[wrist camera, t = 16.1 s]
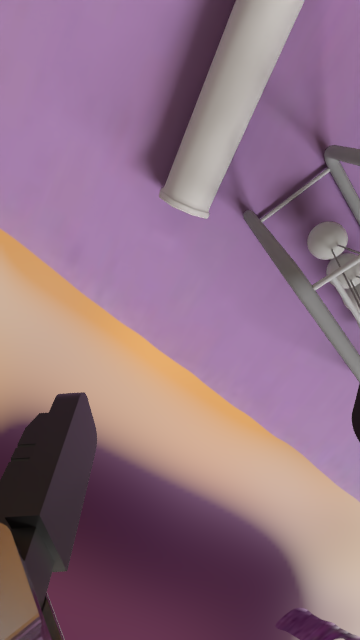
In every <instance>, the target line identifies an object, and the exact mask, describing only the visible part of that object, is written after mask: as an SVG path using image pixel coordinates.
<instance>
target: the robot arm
mask: <svg viewBox="0 0 360 640" xmlns="http://www.w3.org/2000/svg"><path fill="white" fill-rule="evenodd" d="M352 425H353V429H354V432H355V434H356V436H357V438H358V440H359V442H360V385H359V388H358V392H357V396H356V400H355V404H354V408H353V412H352ZM96 444H97V433H96V427H95V423H94V420H93V416H92V413H91V409H90V406H89V402H88V398H87V396H86V394H85V393H68V394H58V395H57V396H56V398H55V400H54V402H53V404H52V407H51V409H50V412H49V413H39V415H38V416H37V417H36V418H35V419H34V420H33V421H32V422H31V423H30V424H29V425H28V426H27V427H26V428H25V430H24V432H23V434H22V437H21V439H20V441H19V443H18V447H17V448H16V449H15V451H14V453H13V455H12V457H11V462H9V463H8V466H7V468H6V470H5V472H4V474H3V476H2V478H1V480H0V640H64V637H63V635H62V632H61V629H60V627H59V624H58V621H57V618H56V616H55V613H54V610H53V608H52V605H51V602H50V600H49V597H48V594H47V588H48V585H49V581H50V577H51V574H52V572H61V571H67V569H68V565H69V561H70V556H71V552H72V548H73V544H74V539H75V535H76V531H77V527H78V523H79V518H80V514H81V510H82V506H83V502H84V497H85V493H86V489H87V485H88V480H89V476H90V472H91V468H92V464H93V459H94V455H95V451H96Z"/></svg>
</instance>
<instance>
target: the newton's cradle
mask: <svg viewBox="0 0 360 640" xmlns="http://www.w3.org/2000/svg"><path fill="white" fill-rule="evenodd" d="M324 158H325V162H326V165H327V167H328V168H327V169H326V170H324V171H323V172H322V173H321V174H319V175H318V176H317V177H315V178H314V179H313V180H311V181H310V182H309V183H307V184H306V185H305V186H303V187H302V188H301V189H299V190H298V191H297V192H296V193H294V194H293V195H292V196H290V197H289V198H288V199H286V200H285V201H284V202H282V203H281V204H280V205H278V206H277V207H276V208H274V209H273V210H272V211H270V212H269V213H268V214H267V215H265V216H264V217H263V218H261V219H259V218H258V217H257V216H256V215H255V213H254V212H253V211H251V210H247V211H246V212H245V213H244V215H243V217H244V219H245V221H246V222H247V224H248V225H249V227H250V228H251V230H252V231H253V233H254V234H255V236H256V237H257V239H258V240H259V241H260V243H261V244H262V246H263V247H264V249H265V250H266V252H267V253H268V255H269V256H270V258H271V259H272V260H273V262H274V263H275V265H276V266H277V268H278V269H279V271H280V272H281V274H282V275H283V276H284V278H285V279H286V281H287V282H288V284H289V285H290V286H291V288H292V289H293V291H294V292H295V293H296V295H297V296H298V298H299V299H300V300H301V302H302V303H303V304H304V306H305V307H306V309H307V310H308V311H309V313H310V314H311V316H312V317H313V318H314V320H315V321H316V323H317V324H318V325H319V327H320V328H321V329H322V331H323V332H324V334H325V335H326V336H327V338H328V339H329V341H330V342H331V343H332V345H333V346H334V348H335V349H336V350H337V352H338V353H339V355H340V356H341V357H342V359H343V360H344V361H345V363H346V364H347V366H348V367H349V368H350V370H351V371H352V373H353V374H354V375H355V377H356V378H357V380H358V381H359V382H360V355H359V354H358V352H357V351H356V349H355V348H354V346H353V345H352V344H351V342H350V341H349V339H348V338H347V336H346V335H345V333H344V332H343V330H342V329H341V327H340V326H339V325H338V323H337V322H336V320H335V319H334V317H333V316H332V314H331V313H330V311H329V310H328V308H327V307H326V306H325V304H324V303H323V301H322V300H321V298H320V297H319V295H318V294H317V292H316V291H315V290H317V289H318V288H320V287H321V286H323V285H324V284H326V283H328V282H330V283H331V284H332V285H334V286H335V288H336V289H337V291H338V292H339V294H340V295H341V297H342V300H343V303H344V305H345V306H346V307H347V308H348V309H349V310H350V311H351V312H352V314H353V316H354V317H355V319H356V320H357V324H358V326H359V328H360V252H358V251H355V250H352V249H350V248H347V247H346V245H347V241H348V237H347V233H346V230H345V229H344V228H343V227H342V226H341V225H340V224H338V223H335V222H323V223H320V224H318V225H317V226H315V227H314V228H313V229H312V230H311V232H310V233H309V236H308V239H307V245H308V249H309V251H310V252H311V254H312V255H314V256H315V257H316V258H319V259H323V260H328V259H332V260H331V261H330V262H329V264H328V266H327V269H326V274H327V276H326V277H324V278H323V279H321V280H319V281H318V282H316V283H315V284H313V285H311V284H310V282H309V281H308V279H307V278H306V277H305V275H304V274H303V272H302V271H301V270H300V268H299V267H298V266H297V264H296V263H295V262H294V260H293V259H292V258H291V257H290V256H289V254H288V253H287V252H286V251H285V250H284V248H283V247H282V246H281V245H280V244H279V242H278V241H277V240H276V239H275V238H274V236H273V235H272V234H271V233H270V232H269V230H268V229H267V228H266V227H265V225H264V224H263V223H262V222H263V221H265V220H266V219H267V218H269V217H270V216H271V215H273V214H274V213H275V212H277V211H278V210H279V209H281V208H282V207H283V206H285V205H286V204H287V203H289V202H290V201H291V200H293V199H294V198H295V197H297V196H298V195H299V194H300V193H302V192H303V191H304V190H306V189H307V188H308V187H310V186H311V185H312V184H314V183H315V182H316V181H318V180H319V179H320V178H322V177H323V176H324V175H326V174H327V173H328V172H331V174H332V176H333V178H334V180H335V182H336V183H337V185H338V187H339V189H340V191H341V192H342V194H343V196H344V198H345V200H346V202H347V203H348V205H349V207H350V209H351V211H352V213H353V214H354V216H355V218H356V220H357V222H358V223H359V225H360V199H359V198H358V196H357V194H356V192H355V190H354V188H353V186H352V184H351V182H350V180H349V179H348V177H347V175H346V173H345V171H344V169H343V167H342V165H341V163H340V162H339V161H343V162H347V163H350V164H354V165H358V166H360V149H355V148H349V147H343V146H337V145H332V146H329V147H328V148H327V149H326V150H325V153H324ZM344 249H347V250H350V251H352V252H355V253H358V254H359V255H358V256H357V255H355V254H351V253H343V254H341V253H342V252H343V251H344Z"/></svg>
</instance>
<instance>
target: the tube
mask: <svg viewBox="0 0 360 640" xmlns="http://www.w3.org/2000/svg"><path fill="white" fill-rule="evenodd" d="M304 1H305V0H236V1H235V4H234V6H233V9H232V12H231V14H230V17H229V19H228V22H227V25H226V27H225V30H224V32H223V35H222V38H221V40H220V43H219V45H218V48H217V51H216V53H215V56H214V58H213V61H212V64H211V66H210V69H209V71H208V74H207V77H206V79H205V82H204V84H203V87H202V90H201V92H200V95H199V98H198V100H197V103H196V105H195V108H194V111H193V113H192V116H191V118H190V121H189V124H188V126H187V129H186V131H185V134H184V137H183V139H182V142H181V144H180V147H179V150H178V152H177V155H176V157H175V160H174V163H173V165H172V168H171V170H170V173H169V176H168V178H167V181H166V183H165V186H164V187H163V188H161V190H160V193H159V197H160V198H161V199H162V200H164V201H165V202H166V203H168V204H169V205H170V206H172V207H174V208H177V209H179V210H181V211H183V212H186V213H188V214H190V215H193V216H197V217H201V218H205V219H208V216H209V212H208V211H209V208H210V206H211V204H212V202H213V199H214V197H215V195H216V193H217V191H218V189H219V186H220V184H221V182H222V180H223V178H224V175H225V173H226V171H227V169H228V167H229V165H230V162H231V160H232V158H233V156H234V154H235V151H236V149H237V147H238V145H239V143H240V141H241V138H242V136H243V134H244V132H245V130H246V127H247V125H248V123H249V121H250V119H251V116H252V114H253V112H254V110H255V108H256V106H257V103H258V101H259V99H260V97H261V95H262V92H263V90H264V88H265V86H266V84H267V82H268V79H269V77H270V75H271V73H272V71H273V68H274V66H275V64H276V62H277V60H278V58H279V55H280V53H281V51H282V49H283V47H284V44H285V42H286V40H287V38H288V36H289V33H290V31H291V29H292V27H293V25H294V23H295V20H296V18H297V16H298V14H299V12H300V9H301V7H302V5H303V3H304Z"/></svg>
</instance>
